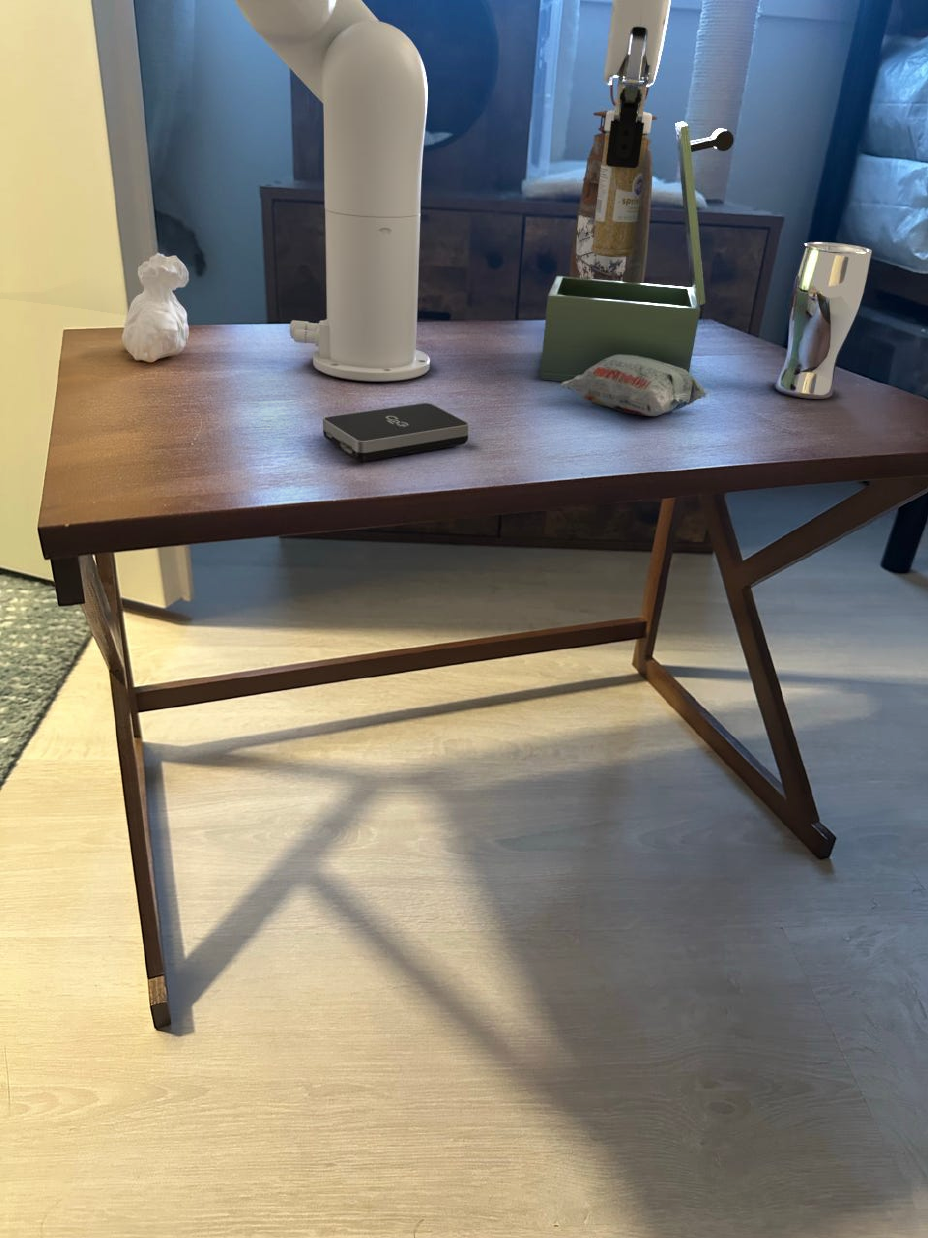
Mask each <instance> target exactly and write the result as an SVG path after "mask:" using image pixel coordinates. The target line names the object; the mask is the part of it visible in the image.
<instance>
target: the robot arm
mask: <svg viewBox="0 0 928 1238" xmlns="http://www.w3.org/2000/svg"><path fill="white" fill-rule="evenodd" d="M233 1H234V2H235V4H236V6H237V7H238V9H239V11H240V12H241V14H242V16H243V18H245V20H246V21H247V22H248V24H249V25H250V26H251V27H252V29H253V30H254V31H255V32H256V33H257V35H259V36H260V38H261V39H262V40H263V41H264V42H265V43H266V44H267V45H268V46H269V47H270V48H271V50H272V51H273V52H274V53H275V54H276V55H278V57H279V58H280V59H281V61H283V62H284V63H285V65H286V66H287V67H288V68H289V69H290V70H291V71H292V72H293V73H294V74H295V75H296V76H297V78H298V79H299V80H300V81H301V82H302V83H303V84H304V85H305V86H306V87H307V88H308V89H309V90H310V92H312V94H313V95H314V96H315V97H316V98H317V99H318V100H319V101H320V102H321V103H322V106H323V108H322V109H323V171H324V172H323V173H324V174H323V179H324V181H323V182H324V185H323V188H324V190H323V191H324V216H325V219H324V220H325V221H324V222H325V277H326V278H325V280H326V281H325V283H326V284H325V285H326V288H325V289H326V319H324V320H322V319H321V320H319V322H318V323H314V322H309V321H306V320H305V321H304V320H295V319H293V320H291V321H290V326H289V336H290V338H291V339H293V341H294V342H295V343H300V344H301V343H302V344H315V346H316V347H317V348H318V349H316V350H315V351H314V353H313V354H312V365H313V367H314V368H315V369H316V370H317V371H319V372H321V373H323V374H325V375H328V376H331V377H334V378H340V379H342V380H343V379H344V380H350V381H357V382H358V381H359V382H375V383H376V382H377V383H381V382H383V383H384V382H398V381H399V382H400V381H407V380H411V379H416V378H418V377H421V376H423V375H425V374H426V373H428V371H429V370H430V367H431V359H430V357H429V356H428V354H427V353H425V352H423V351H422V350H419V349H417V331H418V328H417V327H418V303H419V302H418V301H419V300H418V299H419V273H420V272H419V267H420V242H421V241H420V240H421V239H420V238H421V237H420V236H421V235H420V234H421V198H422V197H421V195H422V174H423V173H422V170H423V156H424V155H423V154H424V145H425V136H426V135H425V134H426V126H427V125H426V124H427V114H428V81H427V73H426V69H425V65H424V62H423V60H422V56H421V54H420V52H419V50H418V49H417V47H416V45H415V44H414V42H413V41H412V40H411V38H409V37H408V36H407V35H406V33H404V32H403V31H402V30H401V29H399V28H397V27H395V26H394V25H392V24H390V23H387V22H383V21H380V20H379V19H378V17H376V16H375V14H374V13H373V11H372V10H370V9H369V8H368V6H367V5H366V4H365V2H363V0H233ZM671 2H672V1H671V0H612V5H611V11H610V21H609V29H608V38H607V47H606V55H605V65H604V72H603V81H604V82H605V84H606V85H608V86H610V85H611V83H612V77H614V78H618V81H617V85H616V98H615V103H616V105H615V106H614V110H615V112H614V121H613V120H611V125H610V134H609V142H608V150H607V158H606V164H607V165H608V166H611V167H624V168H636V167H637V166H638V164H639V157H640V150H641V142H642V135H643V128H644V123H642V117H643V112H644V109H645V108H644V107H645V102H646V100H645V94H646V91H647V87H649V88H650V86H652V85H654V83H655V81H656V76H657V74H658V69H659V65H660V62H661V57H662V52H663V49H664V44H665V37H666V32H667V25H668V21H669V14H670V8H671V7H670V6H671ZM637 111H638V114H637ZM619 116H620V119H619ZM636 118H637V122H636Z"/></svg>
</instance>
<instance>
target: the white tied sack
mask: <svg viewBox="0 0 928 1238" xmlns="http://www.w3.org/2000/svg"><path fill="white" fill-rule="evenodd" d="M137 269H138V270H137V277H138V278H139V282H140V284H141V285H142V286H143V291H142V292H141V293H139V294H137V295H136V296H135V297H134V298H133V299H132V301H131V303H130V306H129V309H128V312H127V314H126V318H125V322H124V326H123V331H122V334H121V341H122V344H123V347H124V349H126V351H127V352H128V353H129V354H130V355H131V356H132V357H133V359H134V360H135V361H143V362H147V363H153V362H155V361H157V360H158V359H159V360H160V359H164V358H167V357H173V356H178V355H179V354H180V353H181V352H182V351H183V350H184V349H185V347H186V344H187V342H188V340H189V335H190V334H189V333H190V328H189V327H190V326H189V324H188V313H187V311H186V308H185V307H184V306H183V305H182V304H181V303H180V302H179V300H178V299H177V297H176V295H175V294H174V292H173V291H176V289H177V288H185V287H186V286H187V284H188V283H189V281H190V278H189V277H190V274H189V271H188V269H187V267H186V265H185V264H184V263H183V262H182V261H181V260H180V258H178V256H177V255H171V256H166V255H165V254H164V253H160V252H156V253H155V254H154V255H153V256H150V257H149V260H145V261H144V262H143V263H142V264H141V265H139V266H138V267H137Z"/></svg>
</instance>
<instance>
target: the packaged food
mask: <svg viewBox="0 0 928 1238" xmlns="http://www.w3.org/2000/svg"><path fill="white" fill-rule="evenodd" d="M560 387H563V388H566V387H568V388H569V389H572V390H574V391H576V392H578V393H579V396H581V397H582V398H583V399H585V400H587V401H588V402H591V403H594V404H597V405H600V406H604V407H608V408H611V409H614V410H617V411H620V412H623V413H626V414H631V415H637V416H643V417H657V416H660V415H664V414H667V413H670V412H673V411H676V410H679V409H683V408H684V407H686V406H689V405H691V404H694V402H695V401H697V400H700V399H702V398H706V396H707V395H708V392H706V390H705V388H704V387H703V386H702V385H701V384H700V383H699V381H698V380H697V379H696V378H695V377H694V376H693V375H691V374H690V372H689V373H688V372H687V371H686V370H685V369H682V368H679V367H676V366H673V365H670V364H667V363H664V362H660V361H657V360H654V359H650V358H645V357H640V356H634V355H623V354H617V355H614V356H611V357H609V358H606V359H604V360H602V361H601V362H599V363H597V364H596V365H594V366H592V367H590V368H589V369H588V370H586V371H585V372H584V374H582V375H578V376H577V377H575V378H574V379H573V380H569V381H565V382H562V383H561V384H560Z"/></svg>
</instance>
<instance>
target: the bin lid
mask: <svg viewBox="0 0 928 1238" xmlns="http://www.w3.org/2000/svg"><path fill="white" fill-rule="evenodd" d="M675 133H676V134H675V135H676V144H677V145H676V146H677V156H678V164H679V176H680V185H681V186H680V187H681V195H682V206H683V215H684V227H685V237H686V246H687V247H686V248H687V256H688V257H687V258H688V268H689V277H690V278H689V279H690V286H691V288H692V289H693V292H694V296H695V299H696V302H697V305H699V306H701V305H705V304H706V295H705V285H704V276H703V275H704V274H703V263H702V254H701V243H700V241H701V240H700V232H699V231H700V230H699V221H698V210H697V199H696V198H697V197H696V188H695V175H694V166H693V155H692V154H693V152H694V153H695V152H698V151H704V150H707V149H712V148H714V149H716V150H718V151H720V152H727V151H729V150H730V149H731V148H732V146H733V145H734V141H735V137H734V135H733V133H732V132H731V131H729V130H727V129H725V128H718V129H716V130H715V131H713V133H712V135H711V136H710V137H706V138H700V139H696V140H691V133H690V125H689V124H687V123H686V122H685V121H680V122H677V123H675Z"/></svg>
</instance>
